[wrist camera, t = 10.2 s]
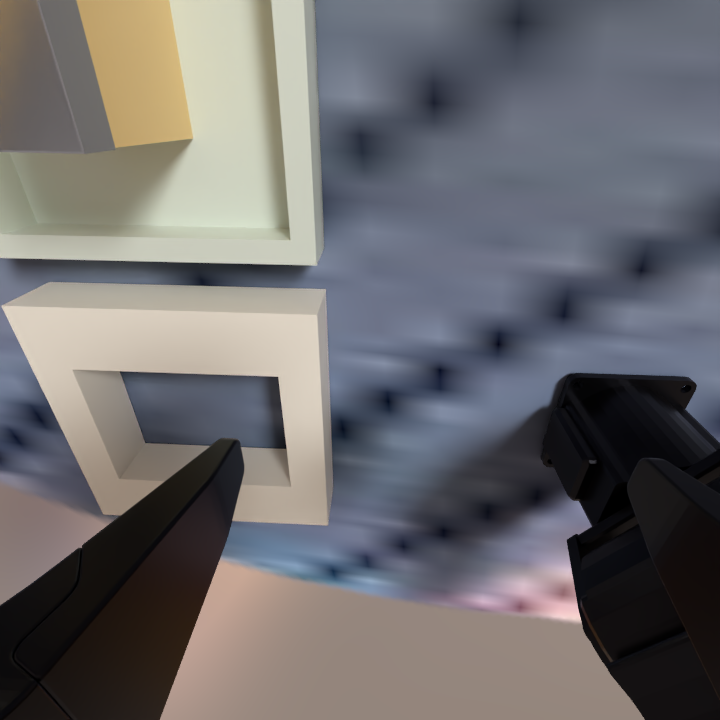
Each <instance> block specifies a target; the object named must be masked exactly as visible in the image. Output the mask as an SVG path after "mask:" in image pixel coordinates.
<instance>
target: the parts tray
mask: <svg viewBox="0 0 720 720" xmlns="http://www.w3.org/2000/svg"><path fill="white" fill-rule="evenodd" d="M169 2H170V8H171V14H172V19H173V25H174V31H175V36H176V42H177V48H178V54H179V59H180V65H181V71H182V77H183V82H184V88H185V94H186V100H187V105H188V111H189V117H190V122H191V128H192V134H193V139H185V140H176V141H168V142H160V143H151V144H143V145H134V146H126V147H118V148H116V150H112V151H104V152H96V153H88V154H63V153H17V152H0V258H23V259H65V260H107V261H149V262H191V263H233V264H275V265H317V264H318V261H319V259H320V257H321V255H322V252H323V250H324V228H323V202H322V175H321V149H320V123H319V97H318V70H317V44H316V18H315V0H169Z"/></svg>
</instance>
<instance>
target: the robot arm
mask: <svg viewBox="0 0 720 720" xmlns="http://www.w3.org/2000/svg"><path fill="white" fill-rule="evenodd" d="M578 381H580V382H579V383H578V384H577V385H574V383H576V382H578ZM685 385H686V386H685ZM683 386H685V387H683ZM682 387H683V388H682ZM696 387H697V385H696V383H695V382H693V381H692V380H691V379H690V378H689V377H677V376H647V375H617V374H588V373H575V374H572V375H570V376H569V377H568V378H567V379H566V381H565V384H564V387H563V390H562V393H561V397H560V400H559V403H558V406H557V408H556V409H555V410H554V411H553V413H552V416H551V419H550V422H549V425H548V428H547V431H546V434H545V438H544V441H543V445H544V448H543V451H542V454H541V460H542V462H543V464H544V465H545V466H547V467H554V468H555V470H556V472H557V474H558V476H559V478H560V480H561V482H562V484H563V486H564V488H565V491H566V493H567V495H568V496H569V497H570V498H571V499H572V500H574V501H579V502H580V504H581V506H582V508H583V510H584V512H585V514H586V516H587V518H588V519H589V521H590V523H591V525H592V527H591V528H589V529H588V530H586V531H584V532H583V533H581V534H579V535H578V534H575V535H574V536H572V537H570V538H569V539H567V545H568V551H569V556H570V562H571V568H572V574H573V580H574V585H575V591H576V597H577V603H578V609H579V613H580V617H581V621H582V625H583V630H584V632H585V634H586V636H587V638H588V639H589V640H590V641H591V643H592V645H593V647H594V649H595V650H596V652H597V653H598V655H599V657H600V658H601V660H602V662H603V663H604V664H605V666H606V667H607V668H608V671H609V672H610V674H611V675H612V677H613V678H614V679H615V680H616V681H617V683H618V684H619V685H620V686H621V688H622V689H623V690H624V691H625V692H626V694H627V695H628V696H629V697H630V698H631V700H632V701H633V703H634V704H635V705H636V707H637V708H638V710H639V711H640V713H641V714H642V716H643V717H644V719H645V720H720V443H719V442H718V441H717V440H716V439H715V438H714V437H713V436H712V435H711V434H710V433H709V432H708V431H707V430H706V429H705V428H704V427H703V426H702V425H701V424H700V423H699V422H698V421H697V420H696V419H695V418H694V417H693V416H691V415H690V414H689V413H688V412H687V411H686V410H685V409H686V407H687V405H688V403H689V401H690V399H691V398H692V396H693V394H694V392H695V390H696ZM244 468H245V467H244V460H243V454H242V449H241V444H240V441H239V440H238V439H234V438H221V439H219V440H217V441H216V442H215V443H214V444H212V445H211V446H210V447H208V448H207V449H206V450H205V451H203V452H202V453H201V454H199V455H198V456H197V457H195V458H194V459H193V460H192V461H190V462H189V463H188V464H186V465H185V466H184V467H183V468H181V469H180V470H179V471H177V472H176V473H175V474H174V475H172V476H171V477H170V478H168V479H167V480H166V481H164V482H163V483H162V484H161V485H159V486H158V487H157V488H155V489H154V490H153V491H152V492H150V493H149V494H148V495H146V496H145V497H144V498H143V499H141V500H140V501H139V502H137V503H136V504H135V505H133V506H132V507H131V508H130V509H128V510H127V511H126V512H124V513H123V514H122V515H121V516H119V517H118V518H117V519H115V520H114V521H113V522H112V523H110V524H109V525H108V526H106V527H105V528H104V529H103V530H101V531H100V532H99V533H97V534H96V535H95V536H94V537H92V538H91V539H90V540H88V541H87V542H86V543H84V544H83V545H82V548H78V549H76V550H75V551H74V552H73V553H71V554H70V555H69V556H67V557H66V558H65V559H64V560H62V561H61V562H60V563H58V564H57V565H56V566H54V567H53V568H52V569H50V570H49V571H48V572H46V573H45V574H44V575H42V576H41V577H40V578H38V579H37V580H36V581H34V582H33V583H32V584H30V585H29V586H28V587H26V588H25V589H23V590H22V591H20V592H19V593H17V594H16V595H15V596H13V597H12V598H10V599H9V600H7V601H6V602H5V603H3V604H2V605H0V720H160V717H161V714H162V712H163V709H164V707H165V704H166V701H167V699H168V696H169V693H170V690H171V688H172V685H173V683H174V680H175V677H176V675H177V672H178V669H179V666H180V664H181V661H182V659H183V656H184V653H185V650H186V648H187V645H188V643H189V640H190V637H191V635H192V632H193V629H194V627H195V624H196V621H197V619H198V616H199V613H200V611H201V608H202V605H203V603H204V600H205V597H206V594H207V592H208V589H209V586H210V584H211V581H212V578H213V576H214V573H215V570H216V567H217V565H218V562H219V560H220V557H221V554H222V552H223V549H224V546H225V543H226V541H227V538H228V534H229V531H230V527H231V523H232V519H233V515H234V511H235V507H236V503H237V499H238V495H239V492H240V488H241V484H242V480H243V476H244Z"/></svg>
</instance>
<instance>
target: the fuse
mask: <svg viewBox="0 0 720 720" xmlns="http://www.w3.org/2000/svg"><path fill="white" fill-rule="evenodd" d="M185 139H193V134H192V128H191V122H190V117H189V111H188V105H187V100H186V94H185V88H184V82H183V77H182V71H181V65H180V59H179V54H178V48H177V42H176V36H175V31H174V25H173V19H172V14H171V8H170V2H169V0H0V152H17V153H63V154H88V153H96V152H104V151H112V150H116V148H118V147H126V146H134V145H143V144H151V143H160V142H168V141H176V140H185Z"/></svg>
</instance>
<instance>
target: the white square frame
mask: <svg viewBox="0 0 720 720" xmlns="http://www.w3.org/2000/svg"><path fill="white" fill-rule="evenodd" d="M2 308H3V310H4V312H5V314H6V316H7V318H8V320H9V322H10V324H11V327H12V329H13V331H14V333H15V335H16V337H17V339H18V341H19V343H20V345H21V347H22V349H23V351H24V353H25V355H26V357H27V359H28V361H29V363H30V365H31V367H32V369H33V372H34V374H35V376H36V378H37V380H38V382H39V384H40V386H41V388H42V390H43V392H44V394H45V396H46V398H47V400H48V402H49V404H50V406H51V408H52V410H53V412H54V414H55V417H56V419H57V421H58V423H59V425H60V427H61V429H62V431H63V433H64V435H65V437H66V439H67V441H68V443H69V445H70V447H71V449H72V451H73V453H74V455H75V457H76V459H77V462H78V464H79V466H80V468H81V470H82V472H83V474H84V476H85V478H86V480H87V482H88V484H89V486H90V488H91V490H92V492H93V494H94V496H95V498H96V500H97V502H98V504H99V507H100V509H101V511H102V513H103V515H122V514H123V513H124V512H126V511H127V510H128V509H130V508H131V507H132V506H133V505H135V504H136V503H137V502H139V501H140V500H141V499H143V498H144V497H145V496H146V495H148V494H149V493H150V492H152V491H153V490H154V489H155V488H157V487H158V486H159V485H161V484H162V483H163V482H164V481H166V480H167V479H168V478H170V477H171V476H172V475H174V474H175V473H176V472H177V471H179V470H180V469H181V468H183V467H184V466H185V465H186V464H188V463H189V462H190V461H192V460H193V459H194V458H195V457H197V456H198V455H199V454H201V453H202V452H203V451H205V450H206V449H207V448H208V447H210V446H202V445H178V444H154V443H145V441H144V438H143V435H142V432H141V430H140V427H139V424H138V421H137V418H136V416H135V413H134V410H133V407H132V404H131V402H130V399H129V396H128V393H127V390H126V388H125V385H124V382H123V379H122V376H121V374H120V371H128V372H157V373H186V374H215V375H243V376H272V377H278V379H279V388H280V396H281V405H282V414H283V422H284V431H285V439H286V448H287V449H274V448H250V447H241V449H242V454H243V460H244V467H245V468H244V476H243V480H242V484H241V488H240V492H239V495H238V499H237V503H236V507H235V511H234V515H233V519H232V521H245V522H266V523H286V524H306V525H327V526H328V522H329V515H330V508H331V500H332V493H333V465H332V438H331V412H330V386H329V360H328V333H327V307H326V289H301V288H263V287H225V286H186V285H148V284H110V283H71V282H48V283H46V284H44V285H42V286H40V287H38V288H36V289H34V290H32V291H30V292H28V293H26V294H24V295H22V296H20V297H18V298H16V299H14V300H12V301H10V302H8V303H6V304H4V305H2Z"/></svg>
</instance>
